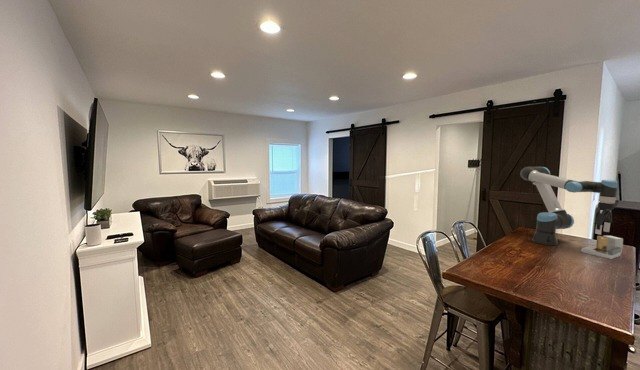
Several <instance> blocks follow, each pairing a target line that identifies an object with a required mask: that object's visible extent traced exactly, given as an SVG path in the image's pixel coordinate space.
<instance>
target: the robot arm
mask: <svg viewBox="0 0 640 370" xmlns="http://www.w3.org/2000/svg"><path fill="white" fill-rule="evenodd" d="M519 175H520V177H521V178H522V179H523V180H525V181H529V182H531V183H532V185H534V186H536V189H537V191H538V192H539V195H540V196H541V199H542V201H543V204H544V205H545V208H546V210H547V211H548V212H547V211H546V212H545V211H543V212H539V213H538V214H537V216H536V227H535V233H534V234H533V236H532V239H531V241H532V242H533V243H535V244H539V245H545V246H558V239H557V235H556V233H557V231H556V230H565V229H570V228H571V227H573V225H574V223H575V220H574V217H573V216H572V215H571V214H570V213H567V211H566V209H563V208H562V207H561V204H560V202H559V200H558V198H557V196H556V193H555V192H554V189H553V188H552V187H556V188H559V189H564V190H566V191H568V193H573V194H574V193H596V194H597V193H598V194H599V195H598V203H597V208H599V210H598V212H597V215H596V219H595V222H594V225H595V231H594V234H597V235H599V236H602V229H603V232H606V233H610V228H611V224H613V210H614V209H615V203H616V201H617V198H616V195H617V191H618V188H619V187H618V183H619V182H618V181H617V180H613V179H602V180H601V181H592V180H591V181H589V180H581V181H577V180H573V179H568V178H565V177H560V176H557V175H551V171H550V170H549V169H548V168H547V167H545V166H525V167H523V168H521V170H520V174H519ZM603 223H604V224H603Z"/></svg>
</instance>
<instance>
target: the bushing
mask: <svg viewBox="0 0 640 370" xmlns="http://www.w3.org/2000/svg"><path fill="white" fill-rule="evenodd" d="M604 236H605V235H597V236H596V245H595V247H596V250H597V251H602V252H606V250H607V242H608V237H604Z"/></svg>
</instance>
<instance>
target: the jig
mask: <svg viewBox="0 0 640 370" xmlns="http://www.w3.org/2000/svg"><path fill="white" fill-rule="evenodd" d="M580 252H581V253H584V254H589V255H591V256H592V255H593V256H597V257H602V258H604V259H605V258H606V259H610V260H613V259H616V258H618V257H620V256H621V255H622V253H621V248H620V247H616V248H613V249H610V250H609V249H607V250H606V252H602V251H597V250H596V245H588V246H585V247H582V248H581V250H580Z"/></svg>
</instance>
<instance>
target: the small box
mask: <svg viewBox="0 0 640 370" xmlns="http://www.w3.org/2000/svg"><path fill="white" fill-rule="evenodd" d="M603 236H604V237H608V242H607V249H609V250H610V249H613V248H616V247H620V248H621V254H622V253H623V248H624V247H623V245H624V238H623V237H617V236H615V235H614V236H613V235H603Z"/></svg>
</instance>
